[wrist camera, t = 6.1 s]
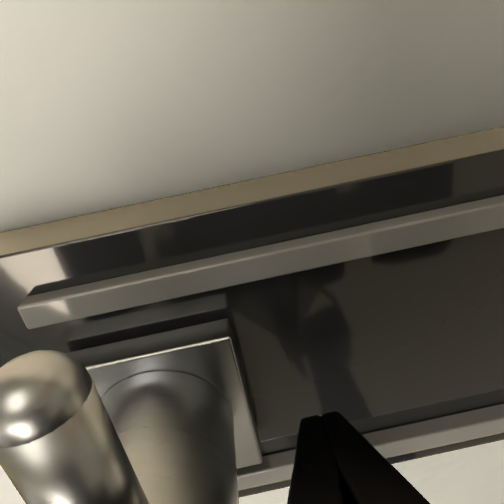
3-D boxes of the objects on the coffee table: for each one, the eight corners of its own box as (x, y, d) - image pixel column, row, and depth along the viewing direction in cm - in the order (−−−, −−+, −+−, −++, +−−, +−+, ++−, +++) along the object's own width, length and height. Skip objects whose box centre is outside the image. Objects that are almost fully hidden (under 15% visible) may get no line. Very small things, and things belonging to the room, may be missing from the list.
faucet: (260, 437, 11) (293, 681, 6) (115, 469, 11) (51, 735, 6) (202, 211, 8) (192, 366, 4) (10, 252, 8) (-225, 456, 4)
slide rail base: (607, 362, 14) (684, 417, 12) (103, 471, 14) (82, 549, 12) (669, 90, 10) (799, 94, 8) (-16, 235, 10) (-82, 281, 8)
